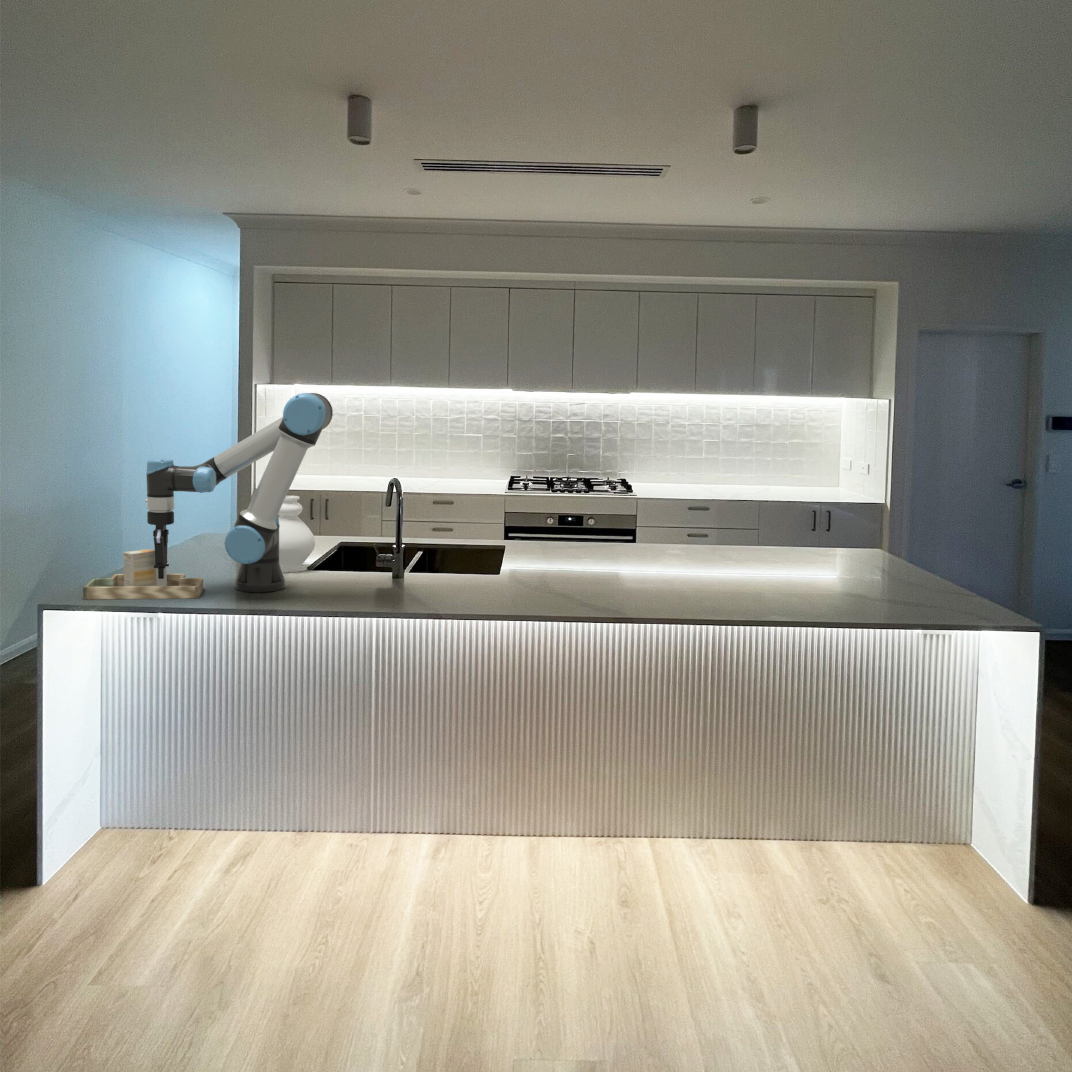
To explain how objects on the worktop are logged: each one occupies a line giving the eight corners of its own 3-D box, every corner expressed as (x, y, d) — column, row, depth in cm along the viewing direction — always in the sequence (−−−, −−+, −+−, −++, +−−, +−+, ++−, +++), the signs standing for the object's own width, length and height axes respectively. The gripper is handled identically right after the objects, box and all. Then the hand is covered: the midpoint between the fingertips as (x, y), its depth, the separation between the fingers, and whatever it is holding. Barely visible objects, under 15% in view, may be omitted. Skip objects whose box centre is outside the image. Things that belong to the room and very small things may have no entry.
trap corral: (205, 584, 339) (205, 573, 338) (198, 598, 318) (198, 586, 318) (97, 585, 332) (97, 574, 332) (83, 599, 312) (83, 587, 311)
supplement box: (148, 591, 326) (147, 548, 324) (157, 593, 323) (156, 550, 321) (123, 594, 320) (122, 551, 318) (132, 597, 317) (131, 553, 315)
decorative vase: (265, 564, 378) (265, 493, 374) (317, 564, 380) (317, 494, 376) (258, 573, 360) (257, 499, 357) (312, 574, 362) (312, 500, 359)
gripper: (150, 507, 325) (151, 584, 328) (143, 513, 312) (145, 593, 316) (176, 508, 326) (177, 584, 330) (171, 513, 314) (172, 593, 317)
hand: (161, 588), depth 323 cm, fingers closed
